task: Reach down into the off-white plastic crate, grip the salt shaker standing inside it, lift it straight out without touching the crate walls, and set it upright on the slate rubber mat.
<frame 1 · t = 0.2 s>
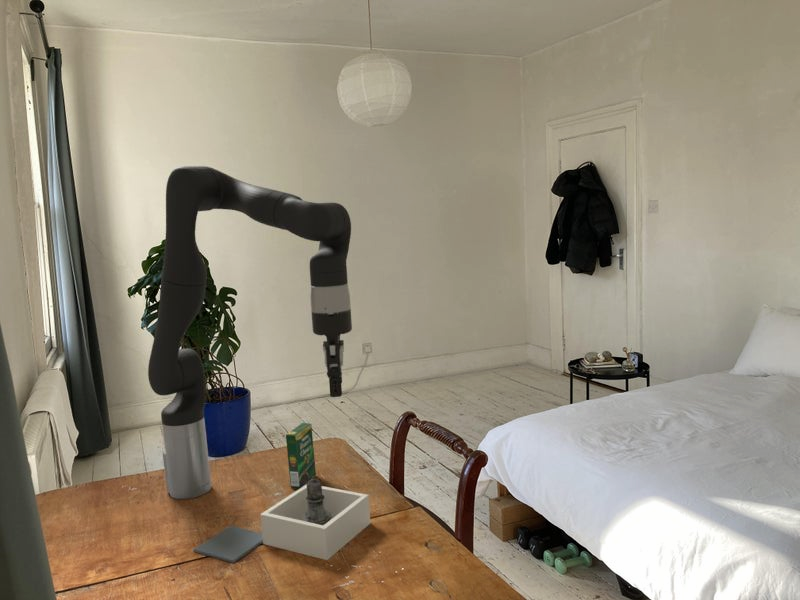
hand: (336, 390, 126), 28 cm above the table, fingers open, 8 cm apart
mat: (232, 544, 124), on the table
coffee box: (303, 482, 152), on the table
crate: (317, 533, 127), on the table
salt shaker: (318, 534, 127), resting in crate
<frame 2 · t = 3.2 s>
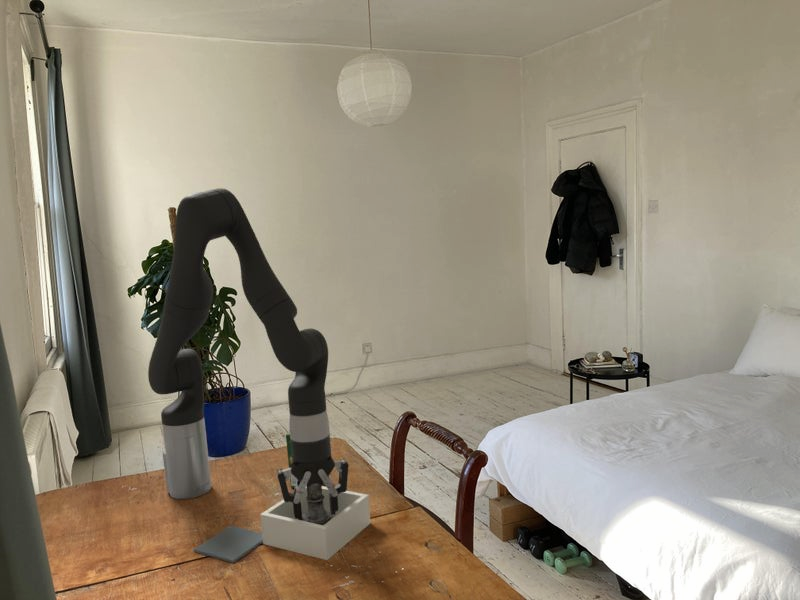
hand: (316, 515, 126), 4 cm above the table, fingers closed on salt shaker, 6 cm apart
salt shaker: (318, 534, 127), resting in crate, touching gripper
everything else where it was.
when the fingers open (5 cm above the table, at t = 11.5 s): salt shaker stays where it is, resting on mat.
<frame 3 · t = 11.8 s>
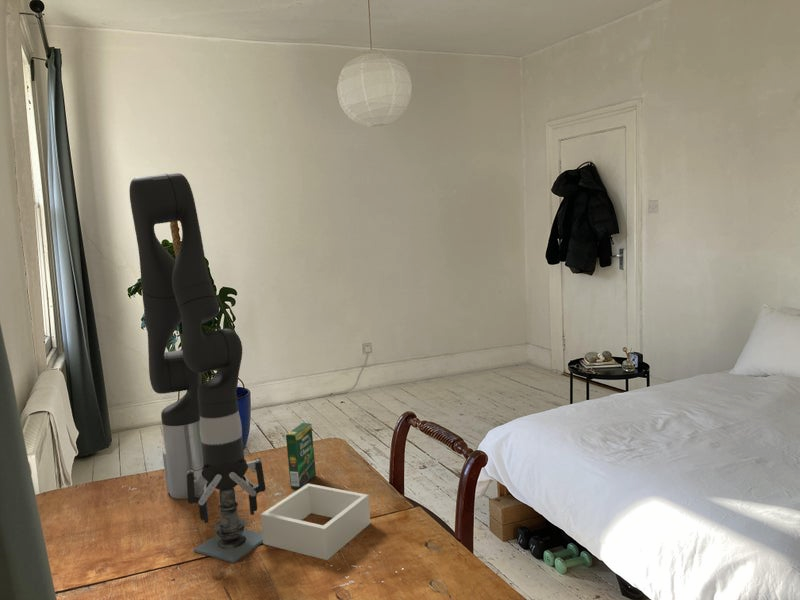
hand: (229, 517, 124), 6 cm above the table, fingers open, 8 cm apart
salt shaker: (232, 542, 124), resting on mat
everything else where it was.
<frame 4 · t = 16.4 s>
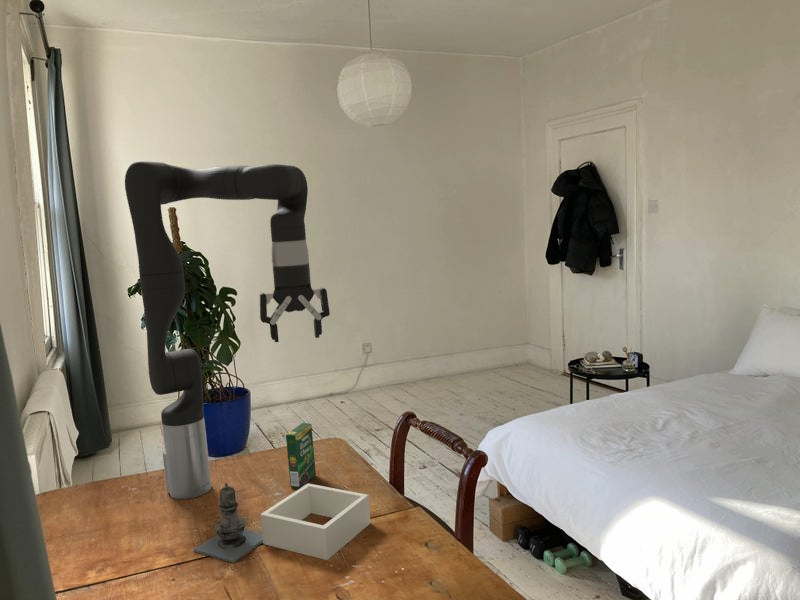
hand: (297, 339, 136), 36 cm above the table, fingers open, 8 cm apart
nothing on the table moved.
at the end: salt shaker inside the target area (0.0 cm from its centre), resting on mat; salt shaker tilted 0°; the gripper is holding nothing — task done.
